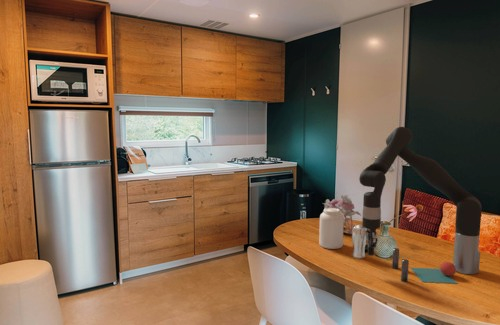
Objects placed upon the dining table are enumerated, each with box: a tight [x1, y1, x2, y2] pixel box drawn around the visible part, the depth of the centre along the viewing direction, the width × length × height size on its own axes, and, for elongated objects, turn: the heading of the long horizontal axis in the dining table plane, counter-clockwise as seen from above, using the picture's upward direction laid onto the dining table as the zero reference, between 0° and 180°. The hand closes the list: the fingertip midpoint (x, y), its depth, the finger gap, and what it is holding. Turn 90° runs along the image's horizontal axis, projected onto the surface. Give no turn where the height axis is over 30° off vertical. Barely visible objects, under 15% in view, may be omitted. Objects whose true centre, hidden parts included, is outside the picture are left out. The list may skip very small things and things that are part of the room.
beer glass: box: [351, 224, 367, 259], centre depth 175 cm, size 7×7×15 cm
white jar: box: [318, 207, 345, 250], centre depth 190 cm, size 12×12×20 cm
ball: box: [439, 261, 457, 277], centre depth 153 cm, size 6×6×6 cm
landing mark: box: [410, 267, 458, 285], centre depth 154 cm, size 14×14×1 cm
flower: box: [322, 194, 362, 235], centre depth 214 cm, size 20×22×25 cm
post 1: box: [391, 247, 400, 270], centre depth 161 cm, size 3×3×9 cm
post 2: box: [400, 258, 410, 283], centre depth 149 cm, size 3×3×9 cm
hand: (370, 254), depth 155 cm, fingers closed
